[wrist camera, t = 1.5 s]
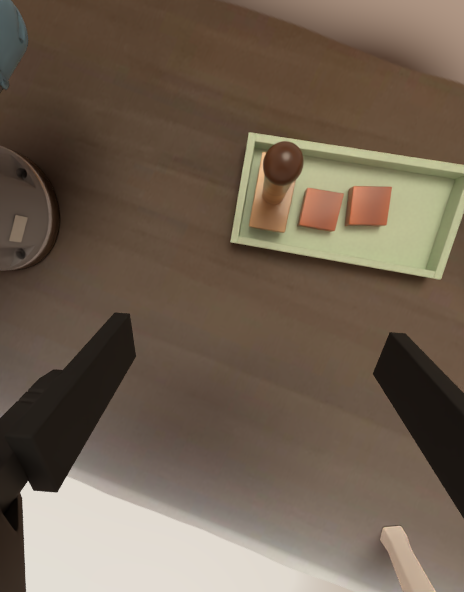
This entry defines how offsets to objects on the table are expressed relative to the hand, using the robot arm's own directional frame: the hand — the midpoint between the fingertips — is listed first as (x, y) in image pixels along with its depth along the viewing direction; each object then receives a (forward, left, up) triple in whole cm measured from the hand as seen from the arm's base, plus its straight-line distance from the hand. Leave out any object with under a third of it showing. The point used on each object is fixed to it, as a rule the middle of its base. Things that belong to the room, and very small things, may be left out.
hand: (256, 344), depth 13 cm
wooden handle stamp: (0, +11, -19) cm, 22 cm away
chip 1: (+5, +10, -19) cm, 22 cm away
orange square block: (+10, +11, -19) cm, 24 cm away
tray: (+8, +11, -19) cm, 24 cm away
